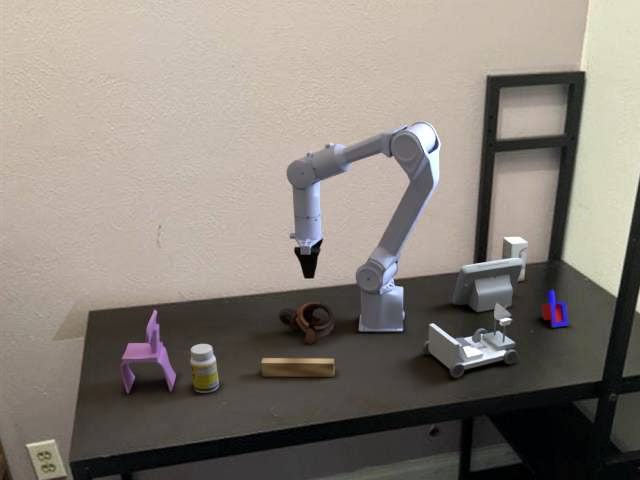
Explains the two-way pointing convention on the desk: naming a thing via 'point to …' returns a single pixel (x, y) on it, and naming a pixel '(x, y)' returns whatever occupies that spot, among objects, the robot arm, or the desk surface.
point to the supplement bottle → (204, 368)
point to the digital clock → (487, 284)
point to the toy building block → (555, 311)
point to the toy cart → (472, 346)
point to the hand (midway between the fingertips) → (310, 274)
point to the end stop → (298, 367)
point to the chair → (147, 355)
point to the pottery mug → (307, 320)
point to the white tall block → (515, 251)
